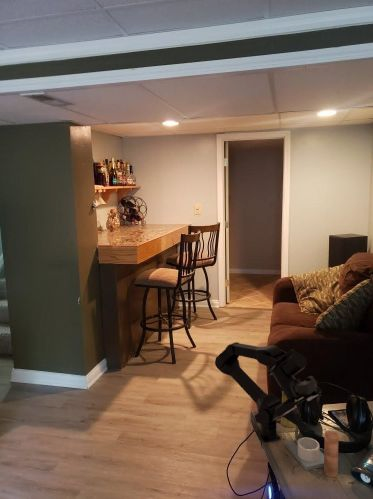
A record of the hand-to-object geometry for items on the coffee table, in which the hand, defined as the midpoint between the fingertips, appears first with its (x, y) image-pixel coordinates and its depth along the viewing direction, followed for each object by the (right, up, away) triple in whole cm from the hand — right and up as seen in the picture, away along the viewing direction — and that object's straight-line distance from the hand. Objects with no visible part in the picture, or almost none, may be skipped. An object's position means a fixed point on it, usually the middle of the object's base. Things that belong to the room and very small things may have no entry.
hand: (314, 425), depth 125 cm
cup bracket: (-1, -12, +6) cm, 14 cm away
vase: (-2, -10, +24) cm, 26 cm away
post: (+4, -13, -3) cm, 14 cm away
